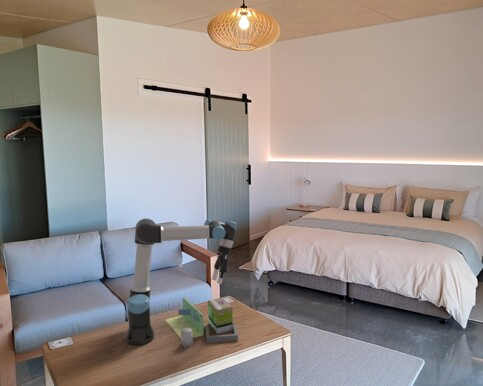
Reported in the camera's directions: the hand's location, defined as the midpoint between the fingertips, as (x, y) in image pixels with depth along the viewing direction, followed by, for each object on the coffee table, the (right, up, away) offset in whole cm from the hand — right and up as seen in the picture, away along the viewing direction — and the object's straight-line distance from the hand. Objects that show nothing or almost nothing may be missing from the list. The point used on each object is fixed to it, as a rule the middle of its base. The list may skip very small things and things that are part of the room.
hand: (216, 281), depth 234 cm
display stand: (-19, -27, -1) cm, 33 cm away
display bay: (+4, -27, -11) cm, 30 cm away
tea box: (+2, -26, -2) cm, 26 cm away
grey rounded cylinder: (-14, -29, -20) cm, 38 cm away
